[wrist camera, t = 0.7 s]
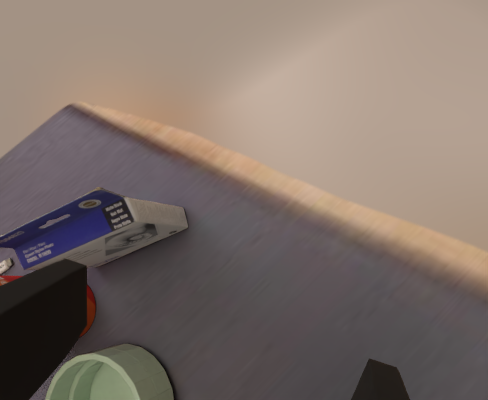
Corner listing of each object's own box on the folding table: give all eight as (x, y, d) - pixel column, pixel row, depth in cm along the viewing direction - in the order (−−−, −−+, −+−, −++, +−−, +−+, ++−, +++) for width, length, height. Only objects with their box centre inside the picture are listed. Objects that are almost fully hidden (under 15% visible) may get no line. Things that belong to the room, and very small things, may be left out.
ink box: (95, 270, 41) (-16, 274, 30) (90, 248, 41) (-21, 244, 31) (193, 229, 37) (106, 217, 27) (186, 205, 38) (98, 184, 27)
